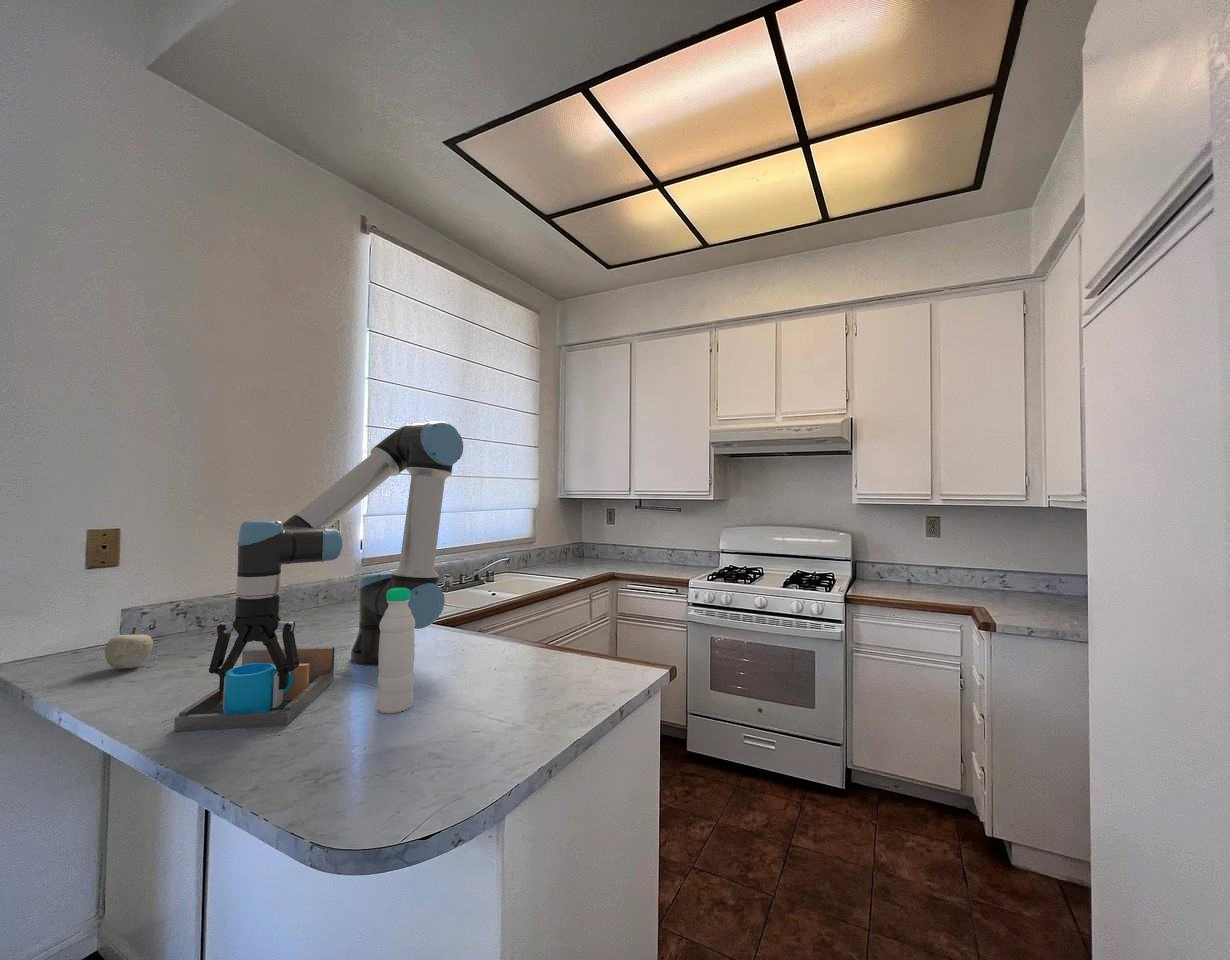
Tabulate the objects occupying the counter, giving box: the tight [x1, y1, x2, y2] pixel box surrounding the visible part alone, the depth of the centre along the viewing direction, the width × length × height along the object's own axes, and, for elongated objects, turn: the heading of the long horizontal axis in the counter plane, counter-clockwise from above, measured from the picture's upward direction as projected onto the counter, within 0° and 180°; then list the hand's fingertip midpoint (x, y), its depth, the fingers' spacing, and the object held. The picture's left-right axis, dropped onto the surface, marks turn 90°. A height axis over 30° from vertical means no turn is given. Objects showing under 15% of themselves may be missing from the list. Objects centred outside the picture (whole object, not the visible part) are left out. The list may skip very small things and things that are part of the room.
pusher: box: [221, 664, 310, 704], centre depth 114 cm, size 16×4×7 cm, turn 100°
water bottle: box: [376, 588, 416, 715], centre depth 110 cm, size 7×7×25 cm
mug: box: [223, 663, 293, 713], centre depth 107 cm, size 12×8×8 cm
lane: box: [173, 646, 335, 732], centre depth 111 cm, size 19×24×8 cm
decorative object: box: [104, 626, 154, 670], centre depth 131 cm, size 9×9×10 cm
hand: (253, 705), depth 107 cm, fingers closed on mug, 8 cm apart
